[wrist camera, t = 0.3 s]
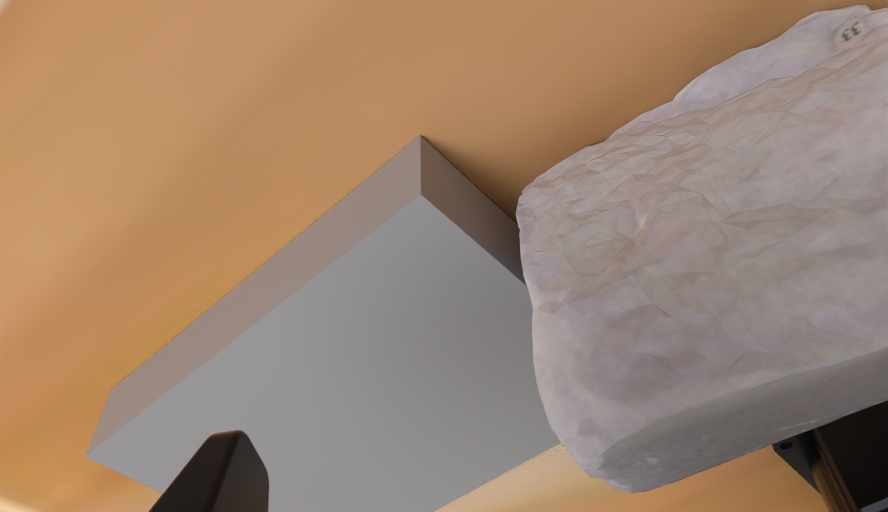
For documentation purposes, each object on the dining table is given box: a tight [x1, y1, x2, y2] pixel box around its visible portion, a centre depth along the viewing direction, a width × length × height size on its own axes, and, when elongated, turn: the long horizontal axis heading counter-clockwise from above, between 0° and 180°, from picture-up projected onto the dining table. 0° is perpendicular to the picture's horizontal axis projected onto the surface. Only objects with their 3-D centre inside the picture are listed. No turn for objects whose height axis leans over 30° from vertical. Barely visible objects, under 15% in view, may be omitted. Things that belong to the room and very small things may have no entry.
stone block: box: [516, 5, 888, 493], centre depth 19 cm, size 12×5×10 cm, turn 124°
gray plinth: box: [85, 135, 561, 512], centre depth 27 cm, size 11×16×3 cm
